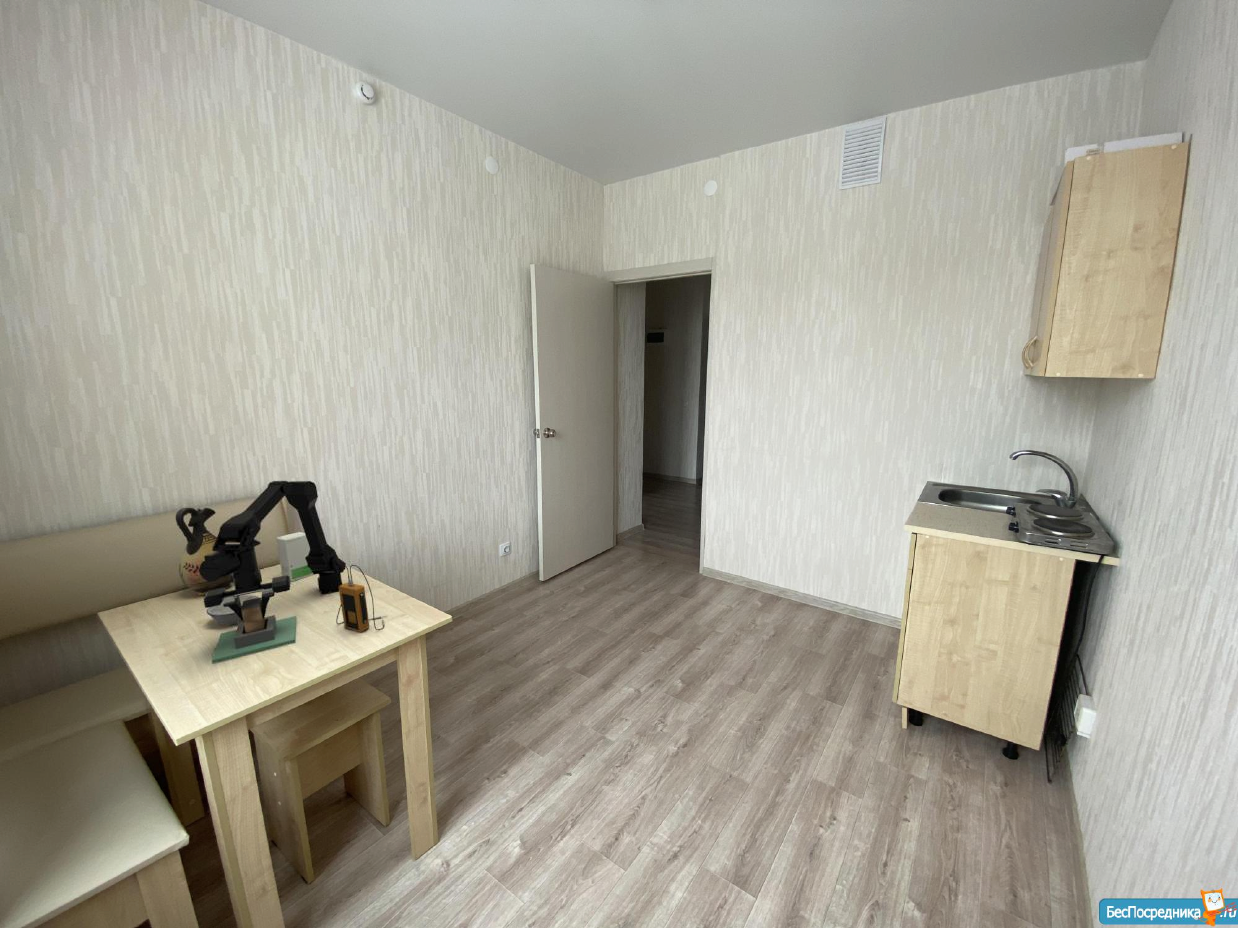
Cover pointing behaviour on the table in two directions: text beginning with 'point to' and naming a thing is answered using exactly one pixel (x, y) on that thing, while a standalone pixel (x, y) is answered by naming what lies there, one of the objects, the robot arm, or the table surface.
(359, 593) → the multimeter
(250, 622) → the plug
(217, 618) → the bowl
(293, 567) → the skincare box
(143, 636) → the table surface
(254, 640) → the board
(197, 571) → the ceramic jug
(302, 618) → the table surface
